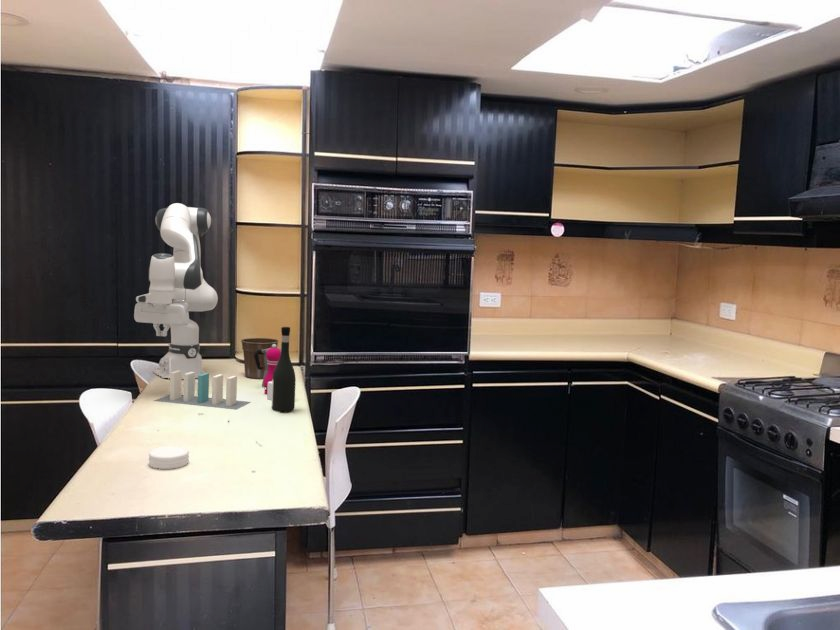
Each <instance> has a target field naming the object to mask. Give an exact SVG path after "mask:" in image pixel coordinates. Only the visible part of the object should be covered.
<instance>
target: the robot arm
mask: <svg viewBox="0 0 840 630" xmlns="http://www.w3.org/2000/svg"><path fill="white" fill-rule="evenodd" d="M211 223H212V217H211V215H210V212H209V211H208V209H206V208H203V207H193V206H192V207H191V206H186V205H185V204H183V203H179V202H176V203H172V204H170V205H169V206H167V207H164V208H160V209H159V210H158V211H157V212H156V214H155V225H156V228H157V229H158V230H159V231H160V237H161V239H162V240H163V241H164V243H165V244H167V245H168V246H170V247H172V248H173V253H172V254H173V255H172V254H170V253H165V252H160V253H159V252H158V253H155V254H153V255H152V256H151V259H150V264H149V268H148V282H150V284H149V288H148V293H145V294H141V295H138V296H136V297H135V301H136V302H137V303H135V305H134V310H133V311H134V313H133V318H134V320H135V322H137V323H145V324H153V325H152V326H153V328H154V330H155V333H156V334H155V335H156V337H167V336H168V332H169V329H170V343H168V352H166V353H165V355H164V356H163V357H162V358H160V360H159V362H158V366H159V369H154V370H153V373H154V374H155V375H157V376H158V375H159V377H160V376H161V377H160V378H162V379H164V378H168V379H167V380H170V379H169V378H170V373H171V372H174V371H177V370H179V371H182V376H181V380H184V374H186V373H189V372H195V379H198V375H201V374H204V373H205V371H204V370H203V362H202V361H203V360H202V359H203V358H202V355H201V354H200V349H201V348H200V347H201V345H200V343H199V342H200V341H199V339H200V338H199V337H200V335H199V333H200V327H199V325H198V323H197V322H196V321H194V320H192V319H190V315H189V314H190V312H207V311H213V309H215V307H216V306H217V305H218V300H219V298H218V293H217V291H216V289H215V288H214V287H212V286H211V285H210V284H208V282H207V281H206V280H205V279H204V275H203V273H204V272H203V270H202V267H201V263H202V262H201V256H202V255H201V242H200V237H201V238H202V237H203V236H204V234H206V233H208V231H209V230H210V227H211ZM161 325H163V326H162V327H163V330H161V329H160V326H161Z"/></svg>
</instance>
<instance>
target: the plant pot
mask: <svg viewBox="0 0 840 630" xmlns="http://www.w3.org/2000/svg"><path fill="white" fill-rule="evenodd" d="M240 342H241V345H242V346H241V347H242V348H241V349H242V351H243V363H244V376H245V378H250V379H258V380H263V377H264V372H265V363H264V354H259V355H258V357H259V362H260V367H263V369H262V370H259V369H258V368H257V364H256V361H255V358H254V353H255V352H256V351H257V350H263V349H268V348H272V343H276V348H278V345H279V344H278V343H280V341H279V339H276V338H268V337H267V338H266V337H250V338H248V337H247V338H243V339H240Z"/></svg>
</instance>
